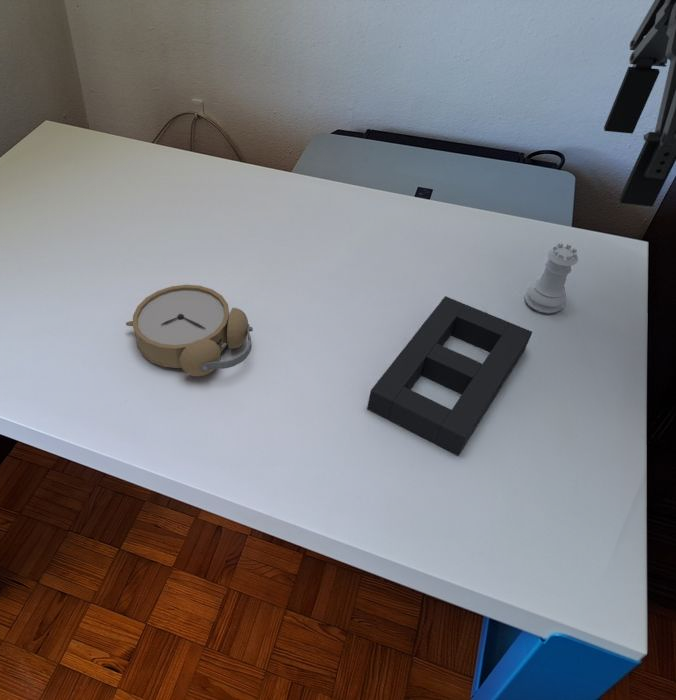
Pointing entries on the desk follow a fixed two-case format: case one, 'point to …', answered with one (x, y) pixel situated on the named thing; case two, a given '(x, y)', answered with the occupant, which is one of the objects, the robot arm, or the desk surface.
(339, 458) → the desk surface
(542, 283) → the rook chess piece
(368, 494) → the desk surface
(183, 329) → the alarm clock
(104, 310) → the desk surface
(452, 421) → the socket pad
